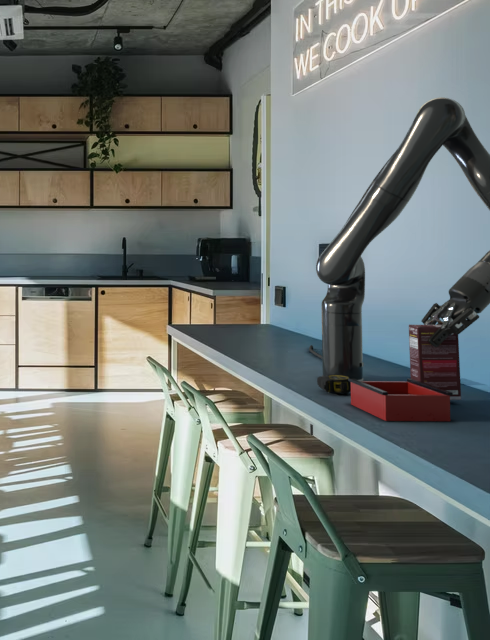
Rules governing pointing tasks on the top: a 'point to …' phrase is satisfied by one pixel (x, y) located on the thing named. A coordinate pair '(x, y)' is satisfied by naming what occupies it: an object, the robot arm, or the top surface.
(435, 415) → the open red box
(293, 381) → the top surface
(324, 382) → the tape measure
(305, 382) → the top surface
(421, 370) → the supplement box
